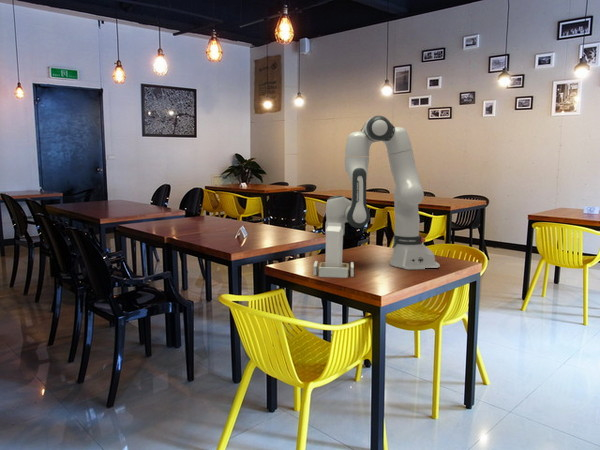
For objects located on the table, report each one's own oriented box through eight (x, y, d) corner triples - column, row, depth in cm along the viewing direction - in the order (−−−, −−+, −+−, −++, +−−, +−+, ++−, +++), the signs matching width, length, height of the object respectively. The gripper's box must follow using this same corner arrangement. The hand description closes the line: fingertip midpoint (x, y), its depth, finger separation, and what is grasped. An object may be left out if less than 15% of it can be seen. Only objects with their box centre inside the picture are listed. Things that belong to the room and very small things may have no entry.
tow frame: (348, 263, 231) (348, 256, 230) (348, 276, 206) (348, 268, 206) (320, 263, 232) (321, 255, 231) (317, 276, 207) (318, 267, 207)
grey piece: (353, 270, 217) (353, 262, 216) (353, 278, 205) (353, 268, 204) (314, 269, 218) (315, 260, 218) (313, 276, 206) (313, 267, 206)
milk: (329, 270, 217) (329, 221, 214) (342, 272, 215) (343, 222, 212) (325, 273, 211) (325, 223, 208) (338, 275, 209) (339, 223, 206)
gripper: (341, 234, 216) (340, 265, 218) (341, 227, 236) (341, 255, 238) (327, 234, 216) (326, 264, 218) (328, 227, 236) (328, 255, 238)
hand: (334, 259), depth 228 cm, fingers closed
